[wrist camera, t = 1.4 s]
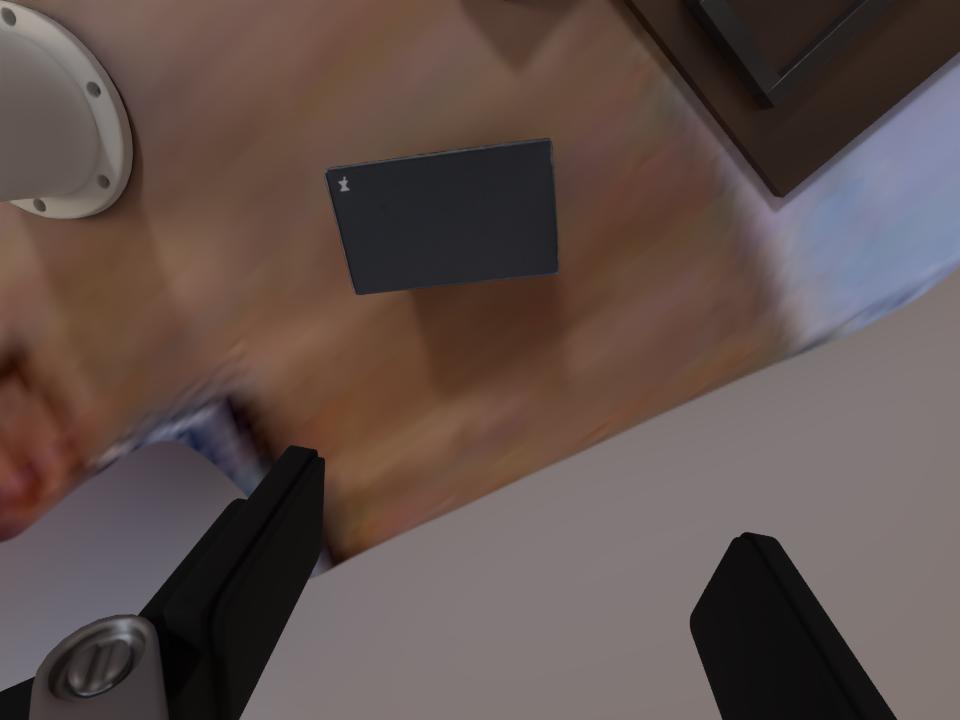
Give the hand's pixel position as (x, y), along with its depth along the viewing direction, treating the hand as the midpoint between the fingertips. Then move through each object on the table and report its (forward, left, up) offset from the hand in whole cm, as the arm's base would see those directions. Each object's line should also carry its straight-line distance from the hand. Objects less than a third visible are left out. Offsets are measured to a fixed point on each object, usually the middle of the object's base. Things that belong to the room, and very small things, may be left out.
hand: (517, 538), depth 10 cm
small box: (-6, +1, -25) cm, 25 cm away
